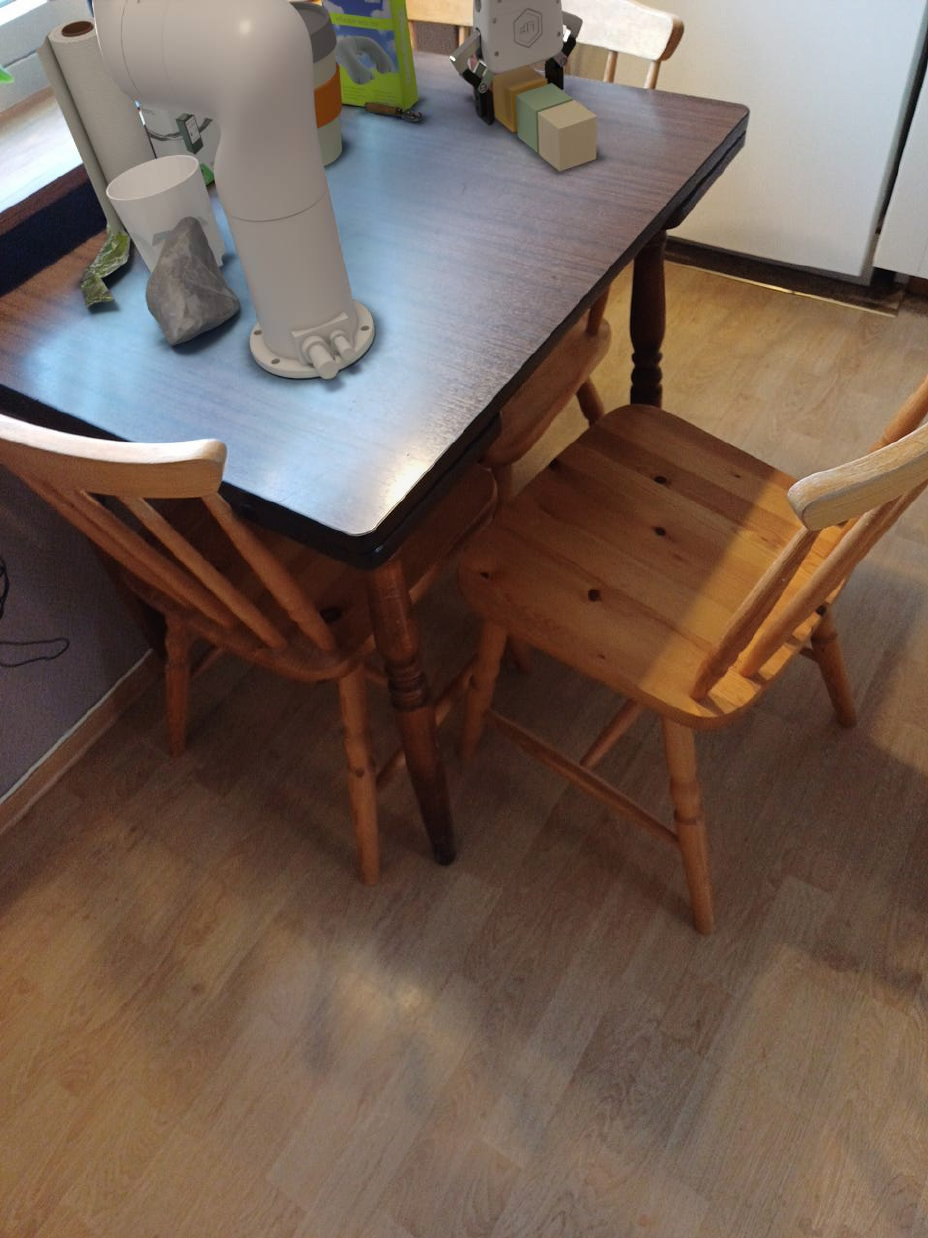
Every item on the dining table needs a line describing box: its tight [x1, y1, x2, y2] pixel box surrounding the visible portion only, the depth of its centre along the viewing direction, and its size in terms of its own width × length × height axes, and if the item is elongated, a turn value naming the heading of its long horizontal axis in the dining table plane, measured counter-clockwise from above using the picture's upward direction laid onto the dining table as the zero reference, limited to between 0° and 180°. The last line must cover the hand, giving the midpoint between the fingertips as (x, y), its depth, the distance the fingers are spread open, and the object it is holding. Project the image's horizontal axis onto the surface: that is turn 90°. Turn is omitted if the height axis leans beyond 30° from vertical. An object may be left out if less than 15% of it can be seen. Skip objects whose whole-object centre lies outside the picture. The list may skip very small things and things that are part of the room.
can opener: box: [363, 102, 423, 122], centre depth 123 cm, size 9×2×1 cm, turn 56°
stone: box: [144, 216, 240, 346], centre depth 97 cm, size 12×11×10 cm
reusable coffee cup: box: [288, 0, 343, 167], centre depth 114 cm, size 12×13×15 cm
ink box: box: [137, 102, 220, 187], centre depth 114 cm, size 9×5×12 cm, turn 146°
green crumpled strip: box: [79, 220, 132, 309], centre depth 109 cm, size 6×25×2 cm, turn 178°
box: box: [320, 0, 419, 111], centre depth 120 cm, size 10×4×17 cm, turn 63°
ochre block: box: [493, 65, 547, 133], centre depth 118 cm, size 5×5×5 cm
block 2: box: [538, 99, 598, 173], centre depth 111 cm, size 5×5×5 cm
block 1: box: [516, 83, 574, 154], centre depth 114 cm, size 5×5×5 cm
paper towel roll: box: [35, 16, 157, 238], centre depth 104 cm, size 7×6×21 cm
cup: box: [106, 155, 227, 275], centre depth 102 cm, size 10×10×10 cm
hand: (520, 109), depth 119 cm, fingers open, 9 cm apart
